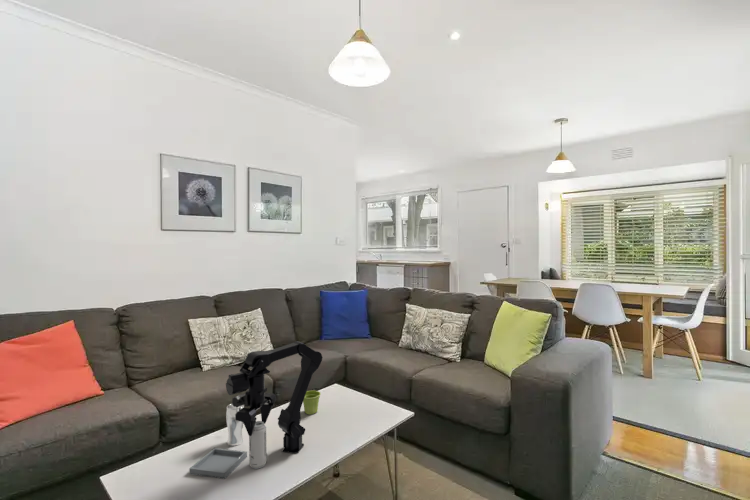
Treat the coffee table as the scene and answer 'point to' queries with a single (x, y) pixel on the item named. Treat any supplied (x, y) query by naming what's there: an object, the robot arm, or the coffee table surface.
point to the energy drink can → (258, 446)
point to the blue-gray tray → (218, 463)
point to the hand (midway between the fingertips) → (257, 429)
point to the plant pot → (311, 402)
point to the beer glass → (234, 426)
